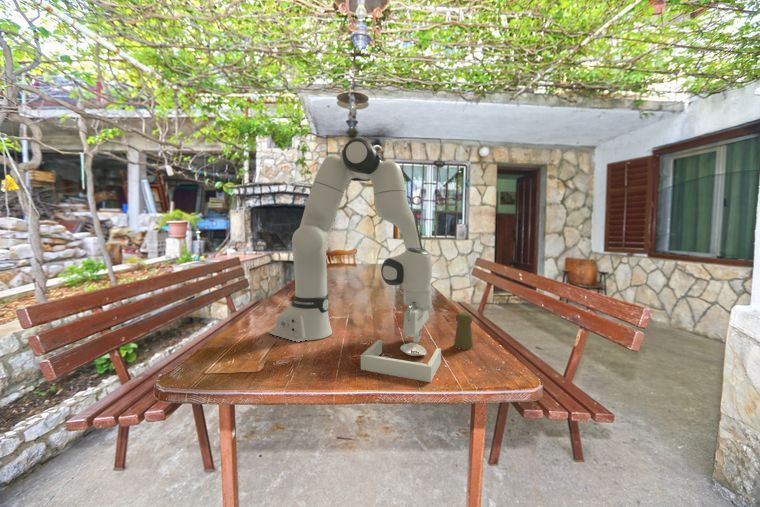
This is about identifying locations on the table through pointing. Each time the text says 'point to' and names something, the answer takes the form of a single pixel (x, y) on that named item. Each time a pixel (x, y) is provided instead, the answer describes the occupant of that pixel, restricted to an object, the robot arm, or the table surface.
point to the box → (399, 364)
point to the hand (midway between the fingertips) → (416, 341)
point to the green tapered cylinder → (463, 331)
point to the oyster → (413, 349)
